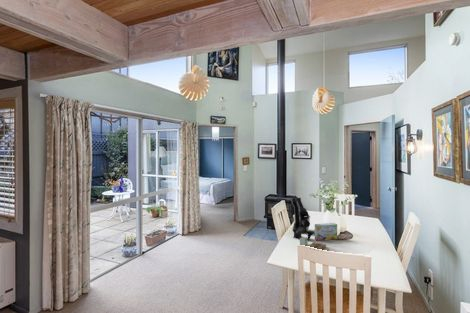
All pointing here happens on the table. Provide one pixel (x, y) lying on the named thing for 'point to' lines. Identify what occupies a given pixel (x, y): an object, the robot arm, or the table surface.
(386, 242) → the table surface
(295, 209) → the robot arm
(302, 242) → the sage box
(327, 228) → the snack box
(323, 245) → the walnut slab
